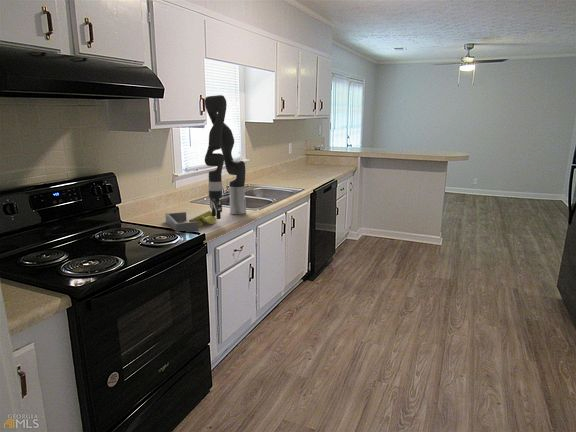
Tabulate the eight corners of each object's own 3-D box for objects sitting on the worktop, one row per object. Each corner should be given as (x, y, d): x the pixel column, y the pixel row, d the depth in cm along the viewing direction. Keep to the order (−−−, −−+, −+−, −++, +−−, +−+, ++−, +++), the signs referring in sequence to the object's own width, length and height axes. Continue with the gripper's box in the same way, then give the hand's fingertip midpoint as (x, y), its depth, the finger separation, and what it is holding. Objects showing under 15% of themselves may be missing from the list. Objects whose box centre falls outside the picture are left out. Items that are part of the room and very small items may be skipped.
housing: (185, 220, 240) (185, 211, 239) (198, 231, 216) (197, 222, 215) (165, 222, 235) (165, 213, 234) (176, 233, 211) (175, 224, 210)
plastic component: (197, 216, 240) (212, 209, 239) (202, 227, 241) (217, 220, 240) (186, 221, 221) (202, 214, 219) (192, 234, 221) (208, 226, 220)
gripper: (226, 190, 225) (226, 219, 229) (217, 187, 238) (218, 214, 241) (212, 191, 222) (213, 220, 225) (205, 187, 234) (206, 215, 238)
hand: (216, 217), depth 233 cm, fingers open, 8 cm apart
